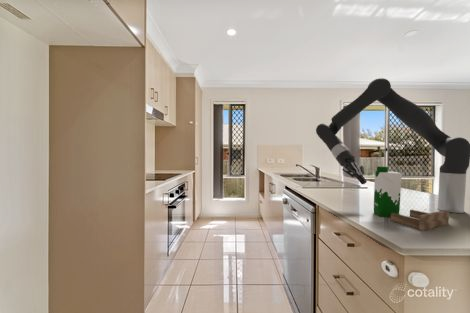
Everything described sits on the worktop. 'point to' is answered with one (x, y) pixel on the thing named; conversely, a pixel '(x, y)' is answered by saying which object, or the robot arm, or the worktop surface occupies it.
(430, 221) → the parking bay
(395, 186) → the soya milk
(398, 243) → the worktop surface
